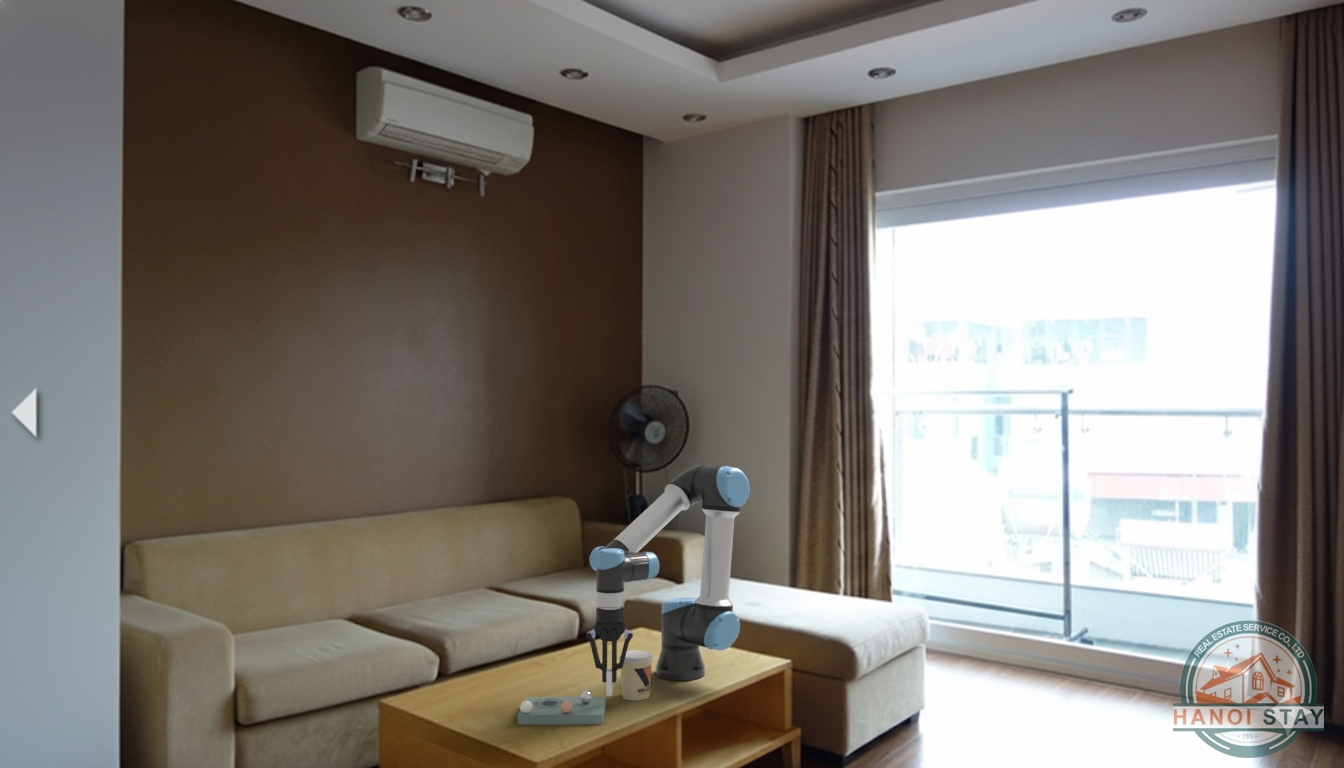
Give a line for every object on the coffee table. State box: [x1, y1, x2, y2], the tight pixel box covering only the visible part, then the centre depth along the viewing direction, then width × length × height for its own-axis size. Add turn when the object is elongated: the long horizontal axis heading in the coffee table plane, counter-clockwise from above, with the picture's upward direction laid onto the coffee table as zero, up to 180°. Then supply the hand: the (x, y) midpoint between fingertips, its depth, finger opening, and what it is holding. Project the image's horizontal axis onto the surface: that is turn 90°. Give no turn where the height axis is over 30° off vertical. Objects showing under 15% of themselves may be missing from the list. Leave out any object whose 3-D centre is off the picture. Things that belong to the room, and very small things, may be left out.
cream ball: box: [519, 700, 532, 713], centre depth 251 cm, size 3×3×3 cm
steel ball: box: [579, 690, 593, 703], centre depth 259 cm, size 3×3×3 cm
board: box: [517, 696, 607, 726], centre depth 257 cm, size 22×15×2 cm
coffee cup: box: [618, 649, 653, 701], centre depth 273 cm, size 9×9×12 cm
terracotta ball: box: [560, 700, 572, 713], centre depth 251 cm, size 3×3×3 cm
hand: (609, 694), depth 258 cm, fingers closed
